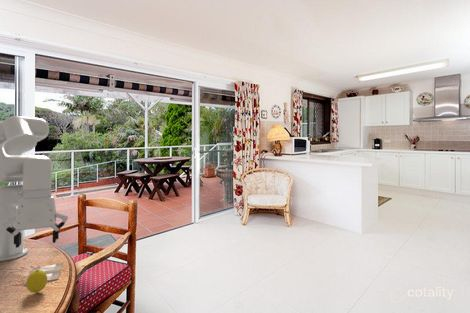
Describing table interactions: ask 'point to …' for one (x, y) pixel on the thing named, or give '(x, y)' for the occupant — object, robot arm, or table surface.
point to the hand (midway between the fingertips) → (37, 243)
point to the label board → (50, 271)
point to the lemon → (36, 281)
